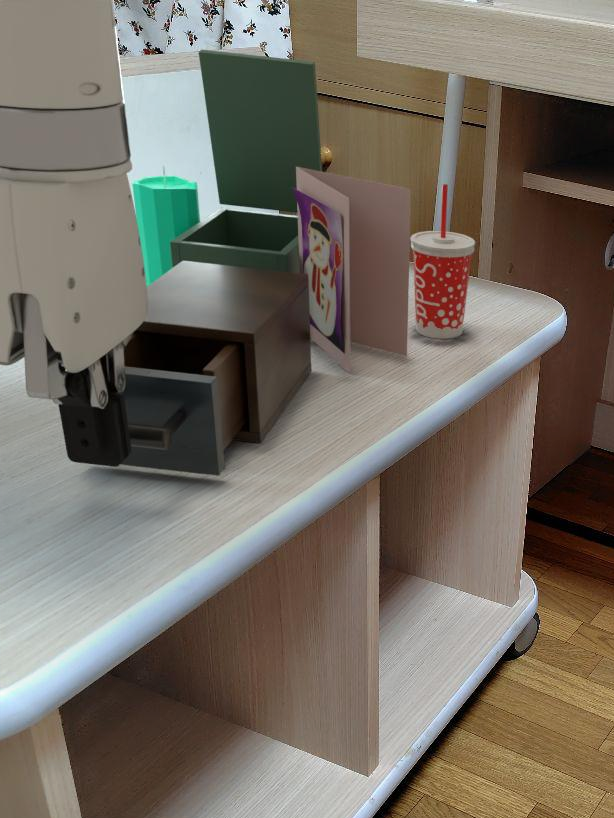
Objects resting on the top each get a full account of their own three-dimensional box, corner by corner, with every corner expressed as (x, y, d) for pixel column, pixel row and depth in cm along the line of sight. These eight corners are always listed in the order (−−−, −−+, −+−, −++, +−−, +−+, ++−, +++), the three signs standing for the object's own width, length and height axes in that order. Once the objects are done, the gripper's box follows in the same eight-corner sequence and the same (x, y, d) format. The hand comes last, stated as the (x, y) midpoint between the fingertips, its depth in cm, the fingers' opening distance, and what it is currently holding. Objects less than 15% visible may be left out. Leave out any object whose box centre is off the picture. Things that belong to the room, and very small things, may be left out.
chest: (289, 337, 93) (286, 254, 89) (178, 325, 93) (169, 241, 89) (325, 293, 104) (324, 218, 100) (226, 282, 104) (221, 207, 100)
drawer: (196, 506, 64) (187, 409, 60) (53, 489, 64) (34, 392, 60) (276, 398, 79) (272, 316, 75) (160, 385, 79) (150, 302, 75)
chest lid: (312, 64, 90) (315, 61, 91) (198, 51, 90) (201, 49, 91) (323, 215, 100) (325, 212, 100) (219, 204, 100) (222, 201, 100)
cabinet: (260, 443, 74) (253, 333, 70) (120, 427, 74) (105, 317, 70) (311, 371, 86) (308, 274, 82) (191, 357, 87) (182, 260, 82)
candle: (171, 300, 98) (158, 175, 92) (131, 286, 101) (116, 163, 94) (218, 288, 103) (209, 168, 96) (179, 274, 105) (167, 156, 99)
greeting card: (293, 331, 94) (286, 166, 86) (364, 322, 98) (364, 164, 90) (341, 374, 86) (338, 198, 79) (417, 364, 90) (422, 194, 82)
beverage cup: (399, 322, 99) (401, 177, 92) (455, 317, 102) (461, 176, 94) (422, 344, 94) (427, 193, 87) (480, 338, 97) (489, 191, 90)
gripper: (49, 108, 57) (95, 402, 66) (-117, 155, 44) (-30, 512, 53) (178, 122, 57) (206, 415, 66) (50, 173, 44) (107, 528, 53)
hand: (100, 457), depth 60 cm, fingers closed
